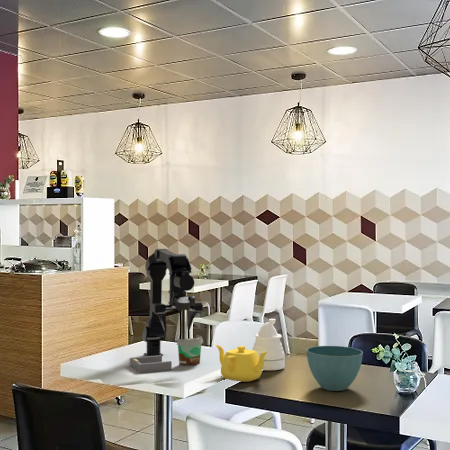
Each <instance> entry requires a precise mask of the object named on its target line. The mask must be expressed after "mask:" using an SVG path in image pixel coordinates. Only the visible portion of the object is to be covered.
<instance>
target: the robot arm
mask: <svg viewBox="0 0 450 450" xmlns="http://www.w3.org/2000/svg"><path fill="white" fill-rule="evenodd" d="M144 266H145V271H146V275H147V277H148V279H149V281H150V287H149V288H150V289H149V316H148V318H147V319H146V320H145V326H144V327H143V331H142V333H141V339H142V341H143V342H144V343H146V352H143V355H144V356H145V357H146V356H158V355H161V356H162V357H164V354H163V353H162V352H161V349H162V348H161V346H162V345H161V343H162V341H166V337H167V330H168V329H167V312H165V311H172V310H173V311H174V310H177V311H180V312H182V311H187V315H186V319H187V320H186V321H187V325H186V327H187V330H188V331H189V330H191V327H192V323H193V322H194V319H195V316H197V314H200V312H201V311H204V305H203V303H202V302H200V301H198V300H197V301H196V297H195V296H194V295H190V296H187V292H188V291H190V290H192V289H193V288H194V287H195V280H194V277H193V276H192V275H190V274H191V273H192V265H191V261H190V260H189V257H188V256H187V254H185V253H179V254H178V253H177V254H176V253H174V252H172V251H170V250H169V249H167V248H156V249H155V250H154V252H153V253H152V254H151V255H149V256H148V257H147V259H146V261H145V265H144ZM167 270H168V272H169V273H168V275H169V290H168V294H169V297H168V298H169V301H168V302H167V303H168V304H165V303H162V295H163V294H162V293H163V289H162V287H163V286H162V285H163V280H164V278H165V277H166V275H167Z"/></svg>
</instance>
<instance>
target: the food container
mask: <svg viewBox="0 0 450 450" xmlns="http://www.w3.org/2000/svg"><path fill="white" fill-rule="evenodd" d="M202 344H204V340H203V337H202V336H201V335H198V334H197V335H196V337H191V338H190V337H189V338H184V339H179V338H177V341H176V345H177V351H178V353H177V354H178V365H179V366H187V367H189V366H197V364H198V365H200V364H201V354H202V353H201V352H202Z"/></svg>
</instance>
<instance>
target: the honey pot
mask: <svg viewBox="0 0 450 450" xmlns="http://www.w3.org/2000/svg"><path fill="white" fill-rule="evenodd" d="M274 324H276V318H269V319H268V322H267V321H266V322H265V323H263V324H262V326H261V327H260V328H259V331H258V332H257V333H256V334H255V341H254V342H253V346H252V349H251V350H253V351H256V352H257V354H258V356H259V357H260V354H261V353H263V352H268V353H267V354H266V355H265V357H264V366H263V369H262V371H277V370H278V371H279V370H283V369H284V368H285V365H286V364H285V363H286V362H285V360H286V358H285V357H286V355H285V351H284V347H283V343H282V342H281V340H280V339H281V338H282V337H283V335H282V334H280V333H278V331H277V329H276V328H275V326H274Z"/></svg>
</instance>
